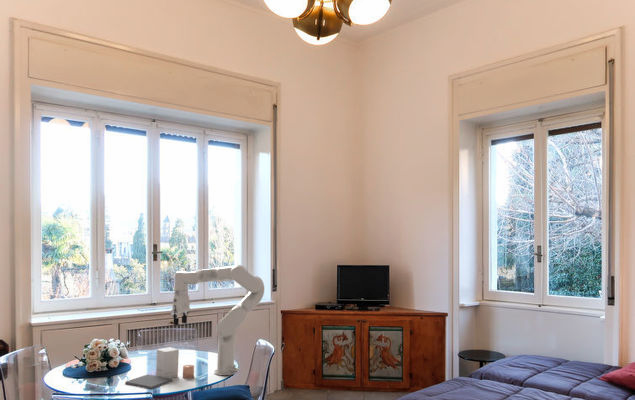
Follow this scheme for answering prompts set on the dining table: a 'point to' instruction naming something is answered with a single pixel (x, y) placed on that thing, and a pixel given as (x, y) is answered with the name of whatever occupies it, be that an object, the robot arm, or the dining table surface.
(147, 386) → the board
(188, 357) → the dining table surface
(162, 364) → the supplement box
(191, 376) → the tan small cube
